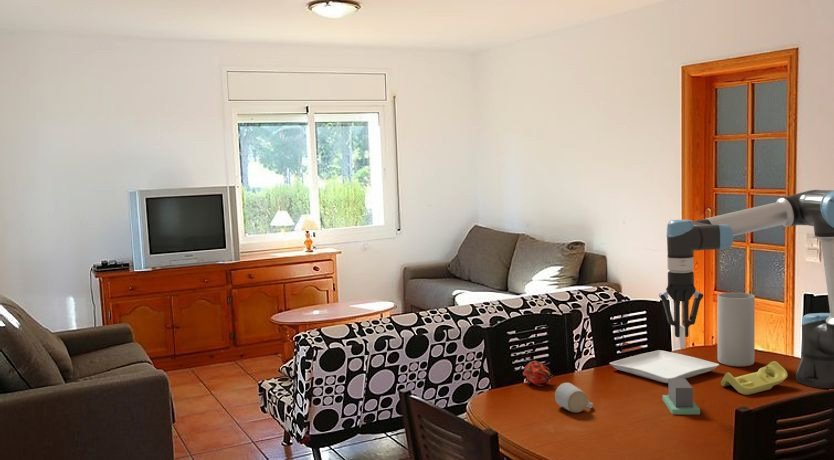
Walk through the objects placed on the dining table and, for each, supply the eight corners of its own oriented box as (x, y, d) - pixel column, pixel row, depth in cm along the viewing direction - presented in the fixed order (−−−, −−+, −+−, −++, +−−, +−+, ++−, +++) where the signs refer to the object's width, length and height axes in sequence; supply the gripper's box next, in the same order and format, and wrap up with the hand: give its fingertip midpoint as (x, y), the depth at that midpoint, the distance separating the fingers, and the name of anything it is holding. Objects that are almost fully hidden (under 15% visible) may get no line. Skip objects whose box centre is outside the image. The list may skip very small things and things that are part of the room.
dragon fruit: (526, 383, 270) (550, 396, 260) (512, 373, 265) (535, 386, 255) (538, 362, 271) (562, 374, 261) (525, 352, 266) (548, 364, 257)
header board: (688, 399, 241) (688, 384, 240) (700, 414, 227) (700, 398, 226) (662, 399, 242) (662, 384, 241) (672, 414, 228) (672, 398, 227)
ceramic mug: (569, 415, 230) (568, 390, 230) (554, 407, 238) (554, 383, 237) (598, 410, 234) (598, 386, 233) (583, 403, 242) (583, 379, 241)
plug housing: (665, 393, 243) (665, 374, 243) (681, 393, 243) (681, 374, 242) (675, 407, 229) (675, 387, 229) (692, 407, 229) (692, 387, 228)
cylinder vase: (751, 368, 272) (751, 299, 269) (714, 364, 278) (714, 297, 276) (757, 360, 282) (757, 293, 280) (721, 356, 289) (721, 291, 287)
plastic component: (745, 389, 241) (724, 369, 249) (738, 406, 245) (718, 386, 253) (794, 377, 248) (772, 357, 256) (787, 394, 251) (765, 374, 259)
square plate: (659, 358, 291) (659, 348, 291) (721, 374, 268) (721, 363, 268) (608, 371, 277) (608, 360, 277) (669, 388, 254) (668, 377, 254)
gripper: (661, 273, 228) (662, 350, 230) (706, 272, 227) (707, 350, 229) (655, 269, 235) (657, 344, 237) (699, 268, 234) (700, 343, 236)
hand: (681, 347), depth 233 cm, fingers closed
